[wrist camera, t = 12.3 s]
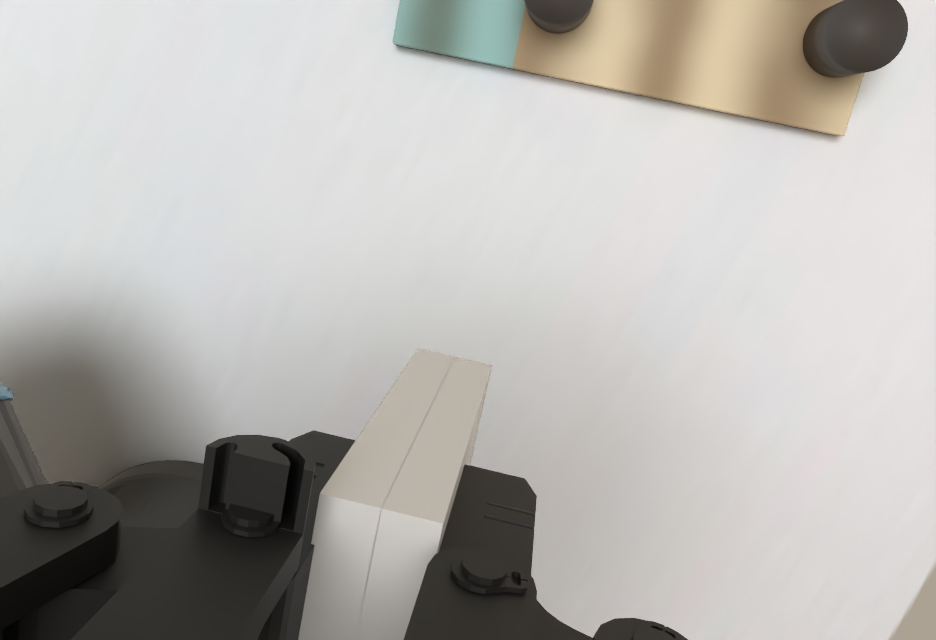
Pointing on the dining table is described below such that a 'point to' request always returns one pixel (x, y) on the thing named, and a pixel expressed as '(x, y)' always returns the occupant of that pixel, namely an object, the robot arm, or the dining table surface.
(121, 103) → the dining table surface
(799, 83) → the board
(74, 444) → the dining table surface
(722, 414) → the dining table surface
